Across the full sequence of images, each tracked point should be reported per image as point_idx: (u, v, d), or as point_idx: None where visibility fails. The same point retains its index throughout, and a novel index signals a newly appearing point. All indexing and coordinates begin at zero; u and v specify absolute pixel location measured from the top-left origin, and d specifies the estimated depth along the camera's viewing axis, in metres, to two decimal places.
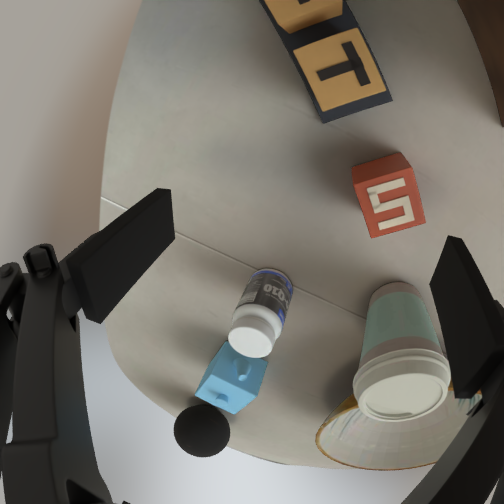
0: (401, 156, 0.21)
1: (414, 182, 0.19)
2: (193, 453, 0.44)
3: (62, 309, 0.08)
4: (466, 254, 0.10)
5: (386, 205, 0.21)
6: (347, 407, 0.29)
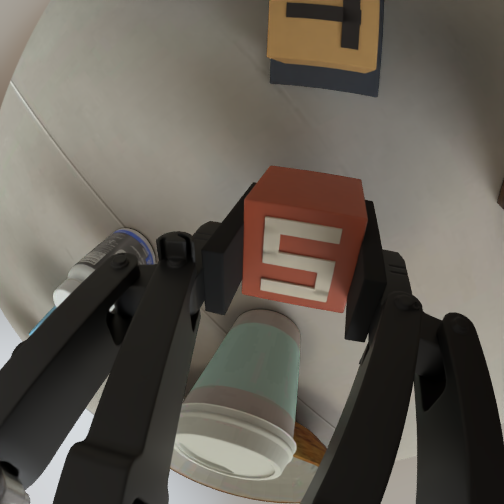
0: (358, 188, 0.13)
1: (358, 246, 0.11)
2: None
3: (187, 308, 0.09)
4: (369, 213, 0.13)
5: (287, 260, 0.12)
6: None
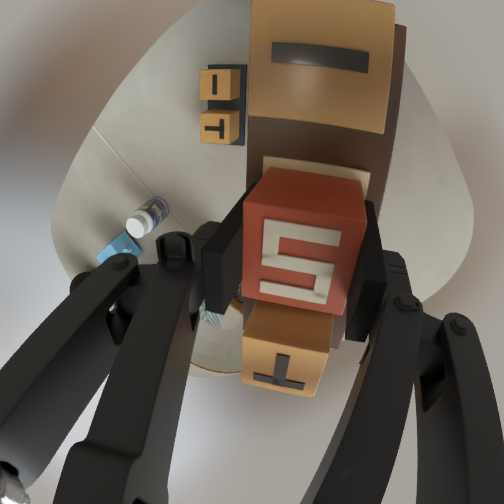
0: (358, 190, 0.13)
1: (357, 249, 0.11)
2: None
3: (187, 308, 0.09)
4: (369, 213, 0.13)
5: (287, 262, 0.12)
6: None
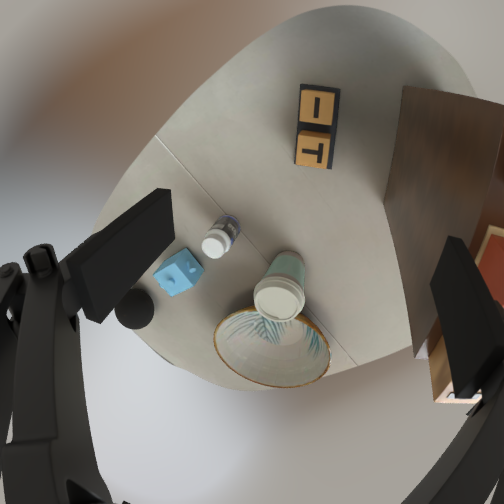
0: None
1: None
2: (125, 322, 0.68)
3: (62, 309, 0.08)
4: (466, 254, 0.10)
5: None
6: (243, 309, 0.58)
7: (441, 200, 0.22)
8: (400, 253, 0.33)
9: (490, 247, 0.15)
